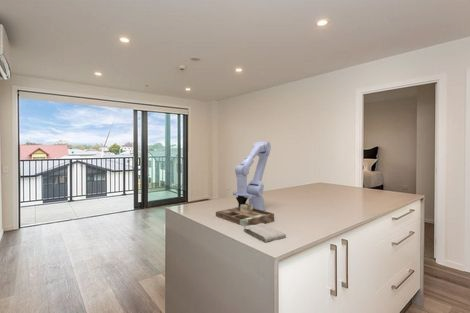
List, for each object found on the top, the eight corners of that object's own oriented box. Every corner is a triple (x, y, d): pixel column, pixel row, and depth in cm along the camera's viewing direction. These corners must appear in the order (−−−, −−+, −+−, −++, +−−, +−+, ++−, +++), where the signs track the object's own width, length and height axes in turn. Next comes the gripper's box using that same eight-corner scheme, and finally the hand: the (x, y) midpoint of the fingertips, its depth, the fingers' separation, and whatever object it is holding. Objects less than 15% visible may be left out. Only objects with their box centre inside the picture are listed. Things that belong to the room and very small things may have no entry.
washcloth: (262, 227, 122) (262, 221, 122) (287, 238, 107) (287, 231, 107) (241, 231, 116) (241, 225, 116) (265, 244, 101) (265, 236, 101)
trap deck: (239, 210, 153) (239, 204, 152) (274, 221, 131) (274, 213, 131) (215, 216, 141) (215, 209, 141) (249, 228, 120) (249, 219, 119)
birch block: (246, 210, 144) (246, 203, 144) (252, 211, 140) (252, 204, 140) (240, 211, 141) (240, 204, 141) (246, 213, 137) (246, 206, 137)
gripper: (228, 185, 147) (228, 207, 147) (245, 188, 135) (245, 212, 136) (237, 184, 151) (237, 206, 151) (254, 186, 140) (254, 210, 140)
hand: (241, 209), depth 144 cm, fingers closed
